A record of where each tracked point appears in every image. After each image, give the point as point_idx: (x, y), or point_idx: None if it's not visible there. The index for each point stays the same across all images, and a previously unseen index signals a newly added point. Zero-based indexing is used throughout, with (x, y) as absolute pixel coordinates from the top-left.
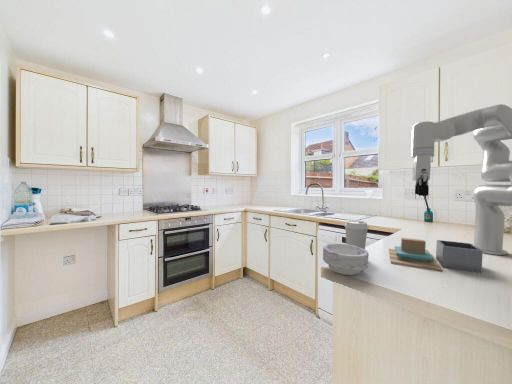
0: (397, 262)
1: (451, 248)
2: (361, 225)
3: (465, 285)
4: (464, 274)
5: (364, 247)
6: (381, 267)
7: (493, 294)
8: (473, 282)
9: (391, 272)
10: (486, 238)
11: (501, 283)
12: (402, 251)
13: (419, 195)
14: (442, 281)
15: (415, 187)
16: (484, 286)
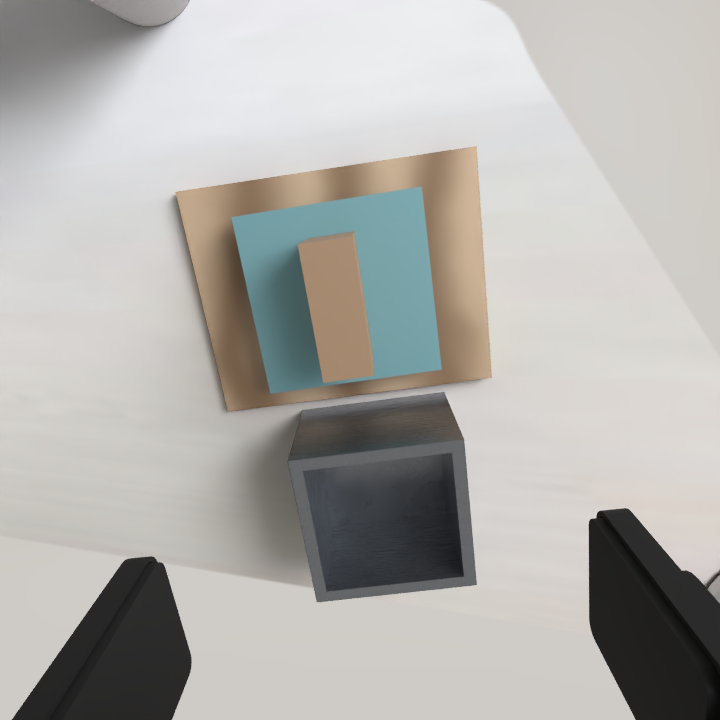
0: (184, 226)
1: (295, 490)
2: None
3: (111, 465)
4: (254, 476)
5: (101, 3)
6: (65, 157)
7: (89, 524)
8: (171, 491)
9: (29, 212)
10: None
11: (235, 562)
12: (297, 244)
13: (135, 567)
14: (90, 401)
15: (680, 621)
16: (153, 514)
